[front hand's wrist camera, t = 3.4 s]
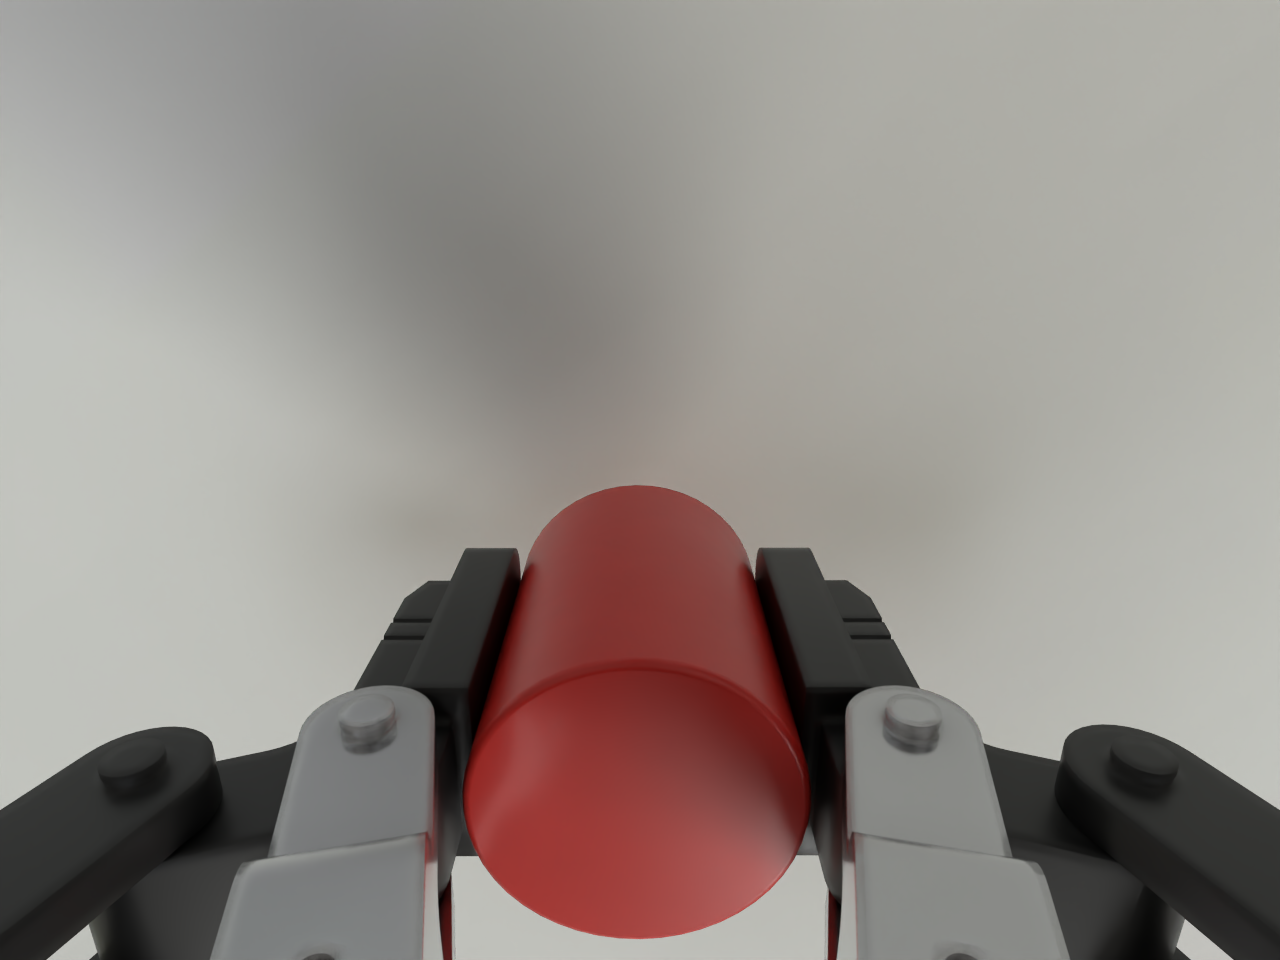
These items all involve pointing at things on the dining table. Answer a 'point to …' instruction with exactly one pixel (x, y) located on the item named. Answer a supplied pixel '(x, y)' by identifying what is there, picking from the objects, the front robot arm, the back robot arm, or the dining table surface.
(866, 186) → the dining table surface
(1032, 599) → the dining table surface
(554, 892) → the canister
